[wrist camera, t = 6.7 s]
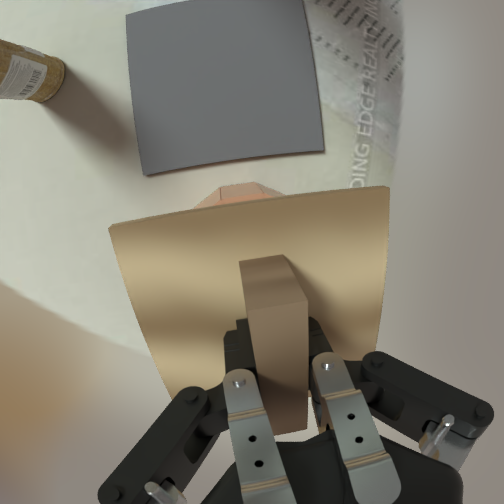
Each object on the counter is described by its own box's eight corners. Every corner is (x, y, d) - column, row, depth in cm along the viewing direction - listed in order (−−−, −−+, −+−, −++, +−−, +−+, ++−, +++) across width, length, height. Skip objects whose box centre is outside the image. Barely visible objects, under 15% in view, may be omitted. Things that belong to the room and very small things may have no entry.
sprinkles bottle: (57, 48, 16) (-36, 12, 4) (72, 81, 18) (-29, 56, 6) (23, 79, 17) (-75, 68, 4) (37, 113, 18) (-69, 116, 6)
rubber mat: (127, 17, 17) (125, 15, 16) (299, -4, 17) (300, -6, 17) (144, 174, 22) (143, 175, 22) (321, 149, 23) (323, 150, 23)
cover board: (112, 224, 12) (69, 265, 8) (383, 185, 13) (443, 209, 9) (180, 408, 17) (177, 464, 13) (365, 375, 18) (392, 422, 14)
